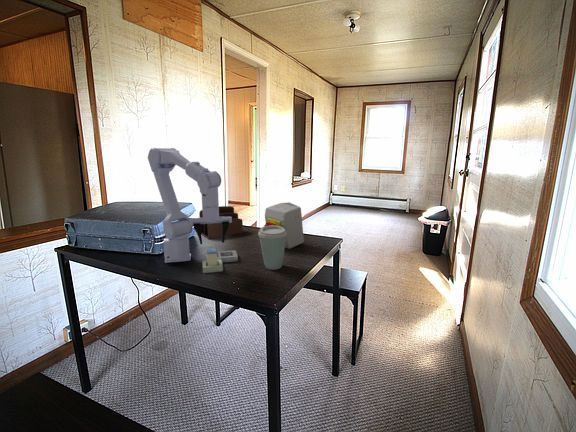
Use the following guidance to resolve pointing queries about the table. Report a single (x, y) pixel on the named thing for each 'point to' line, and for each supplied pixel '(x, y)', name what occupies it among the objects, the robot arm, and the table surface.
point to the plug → (212, 257)
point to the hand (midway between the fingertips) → (212, 242)
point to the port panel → (226, 256)
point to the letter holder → (215, 228)
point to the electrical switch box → (286, 222)
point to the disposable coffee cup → (272, 245)
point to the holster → (212, 267)
